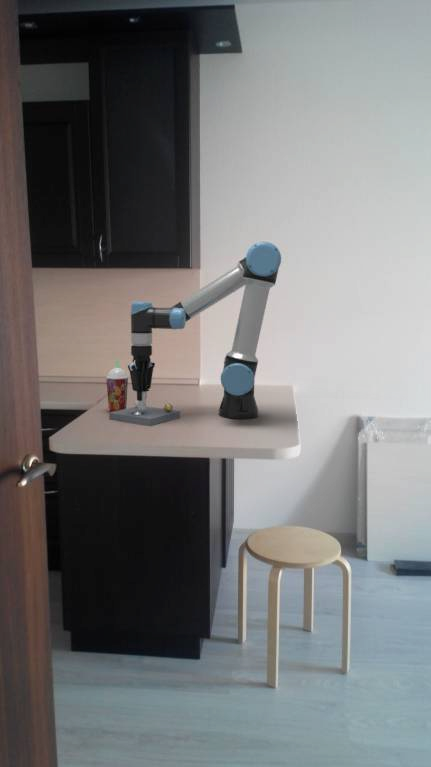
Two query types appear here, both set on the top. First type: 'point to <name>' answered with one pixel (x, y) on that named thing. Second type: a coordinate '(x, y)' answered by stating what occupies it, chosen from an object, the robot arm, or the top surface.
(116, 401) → the smoothie
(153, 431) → the top surface
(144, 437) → the top surface
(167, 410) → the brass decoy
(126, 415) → the bearing plate
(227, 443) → the top surface
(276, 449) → the top surface
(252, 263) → the robot arm
